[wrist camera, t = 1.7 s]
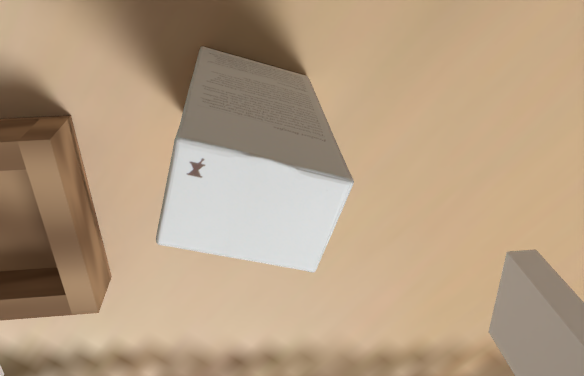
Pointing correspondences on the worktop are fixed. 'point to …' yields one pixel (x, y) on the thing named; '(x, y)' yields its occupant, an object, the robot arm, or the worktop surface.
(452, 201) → the worktop surface
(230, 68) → the skincare box
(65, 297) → the rectangular wooden frame
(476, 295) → the worktop surface
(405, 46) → the worktop surface
